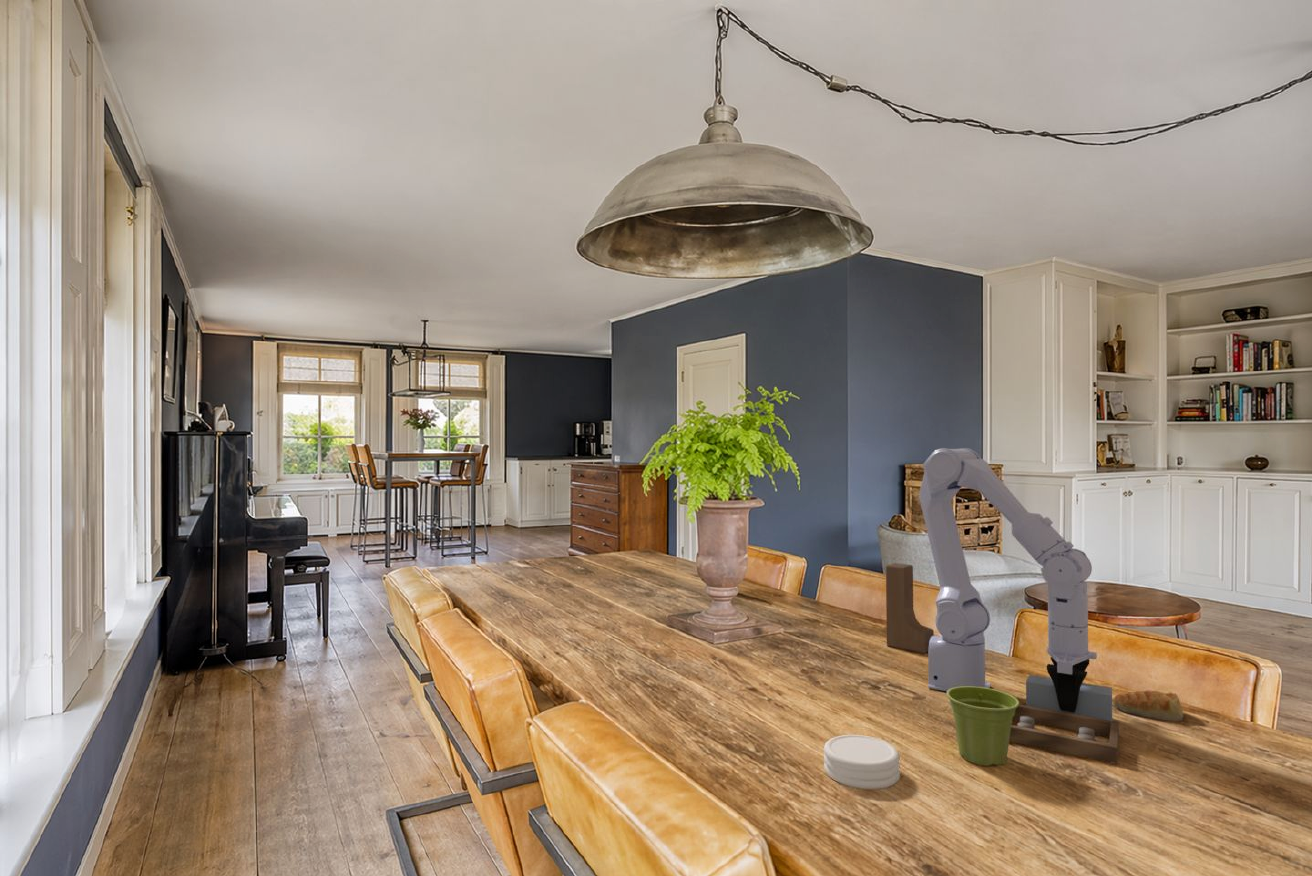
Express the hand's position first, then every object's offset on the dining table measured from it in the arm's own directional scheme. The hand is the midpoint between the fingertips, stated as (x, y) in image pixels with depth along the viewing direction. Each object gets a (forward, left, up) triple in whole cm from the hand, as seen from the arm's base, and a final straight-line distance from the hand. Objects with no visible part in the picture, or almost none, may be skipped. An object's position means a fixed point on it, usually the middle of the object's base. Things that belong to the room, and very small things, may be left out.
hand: (1068, 706), depth 116 cm
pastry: (+11, +8, -2) cm, 14 cm away
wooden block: (-32, +25, -2) cm, 41 cm away
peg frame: (-1, -12, -1) cm, 12 cm away
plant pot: (-9, -25, -2) cm, 27 cm away
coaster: (-22, -39, -2) cm, 45 cm away
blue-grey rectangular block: (0, 0, -2) cm, 2 cm away
